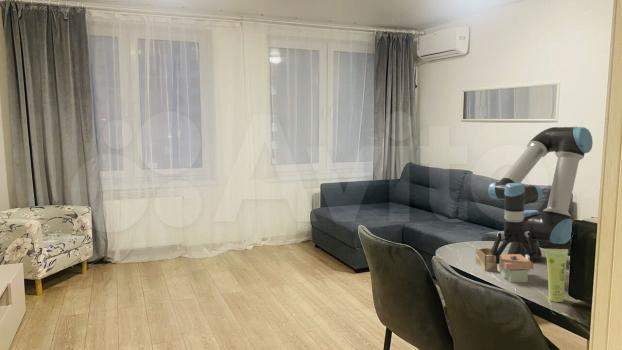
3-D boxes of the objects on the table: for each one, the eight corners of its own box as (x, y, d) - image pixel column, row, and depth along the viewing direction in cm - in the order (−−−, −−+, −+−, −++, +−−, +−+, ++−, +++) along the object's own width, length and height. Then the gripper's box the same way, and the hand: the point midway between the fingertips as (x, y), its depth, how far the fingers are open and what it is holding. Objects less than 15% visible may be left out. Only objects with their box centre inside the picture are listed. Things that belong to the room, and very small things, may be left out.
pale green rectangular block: (515, 272, 200) (516, 261, 199) (527, 282, 188) (527, 270, 187) (499, 272, 200) (499, 261, 199) (510, 282, 188) (510, 270, 187)
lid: (520, 259, 199) (520, 251, 199) (533, 269, 187) (533, 260, 186) (494, 260, 200) (494, 252, 200) (506, 269, 187) (506, 261, 187)
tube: (556, 304, 165) (557, 251, 163) (544, 299, 170) (545, 248, 167) (567, 301, 167) (568, 249, 165) (554, 296, 172) (556, 246, 170)
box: (493, 262, 215) (493, 247, 214) (502, 270, 203) (503, 255, 202) (476, 262, 215) (476, 248, 214) (484, 270, 203) (484, 255, 202)
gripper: (538, 217, 194) (537, 267, 197) (482, 218, 195) (482, 268, 198) (546, 221, 187) (545, 272, 189) (488, 222, 188) (488, 274, 190)
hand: (513, 270), depth 194 cm, fingers closed on lid, 11 cm apart
